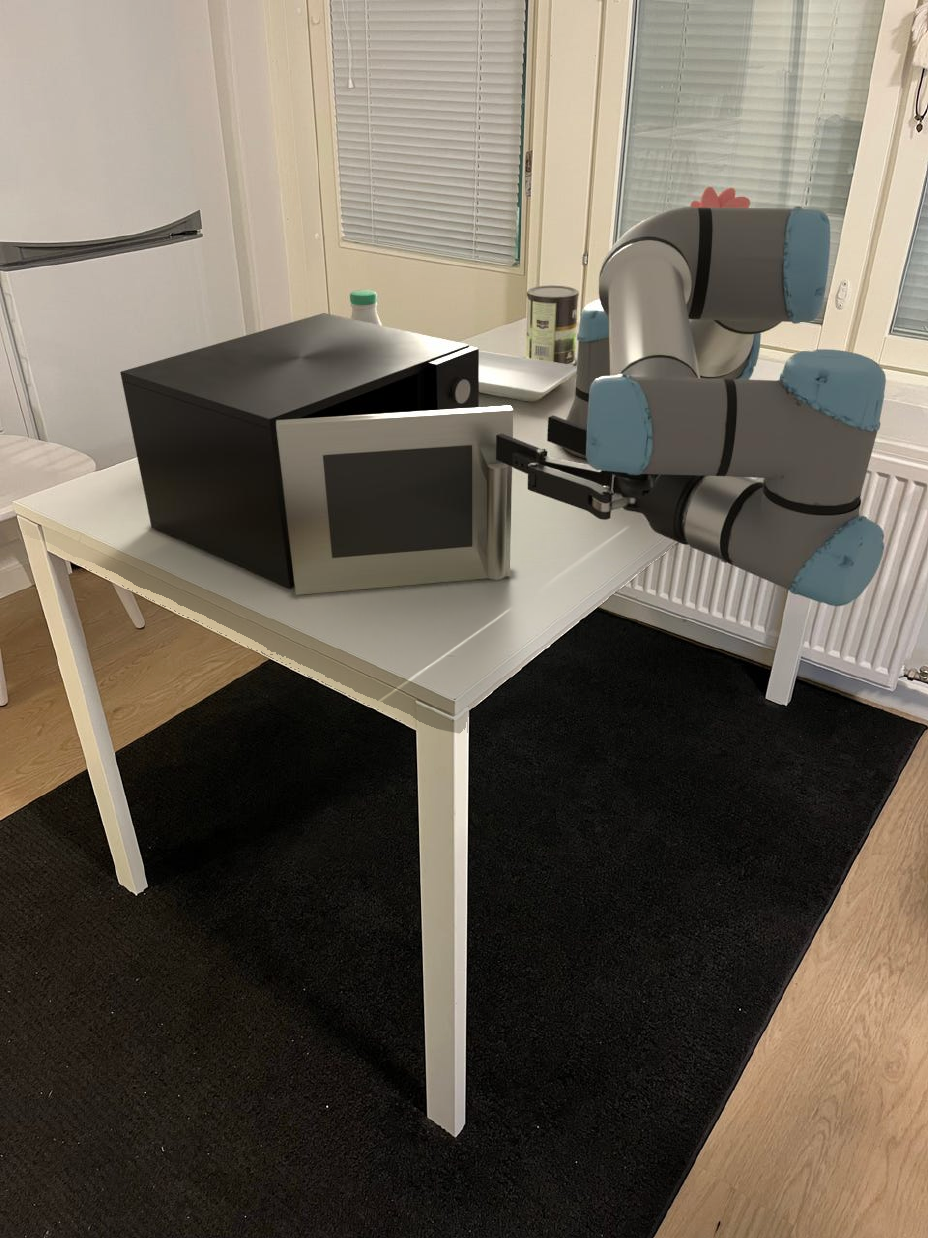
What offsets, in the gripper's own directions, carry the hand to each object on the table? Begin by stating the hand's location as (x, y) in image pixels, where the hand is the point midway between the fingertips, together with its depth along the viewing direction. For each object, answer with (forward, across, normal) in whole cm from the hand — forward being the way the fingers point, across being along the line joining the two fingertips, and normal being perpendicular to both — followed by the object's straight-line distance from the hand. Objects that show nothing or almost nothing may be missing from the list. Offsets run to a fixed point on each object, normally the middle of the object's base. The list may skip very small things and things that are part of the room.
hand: (525, 437), depth 100 cm
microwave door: (+12, -7, -22) cm, 26 cm away
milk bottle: (+70, +31, -23) cm, 80 cm away
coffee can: (+66, +73, -23) cm, 101 cm away
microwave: (+39, -1, -22) cm, 45 cm away
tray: (+65, +55, -23) cm, 88 cm away
